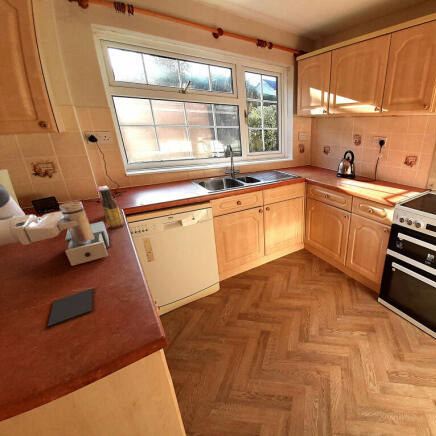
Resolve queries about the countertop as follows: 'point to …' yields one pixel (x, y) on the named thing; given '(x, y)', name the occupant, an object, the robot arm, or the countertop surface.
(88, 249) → the drawer
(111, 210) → the sauce bottle
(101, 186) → the candy bar box
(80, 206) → the metal canister
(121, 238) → the countertop surface
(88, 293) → the mat
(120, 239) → the countertop surface
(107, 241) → the cabinet
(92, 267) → the countertop surface
